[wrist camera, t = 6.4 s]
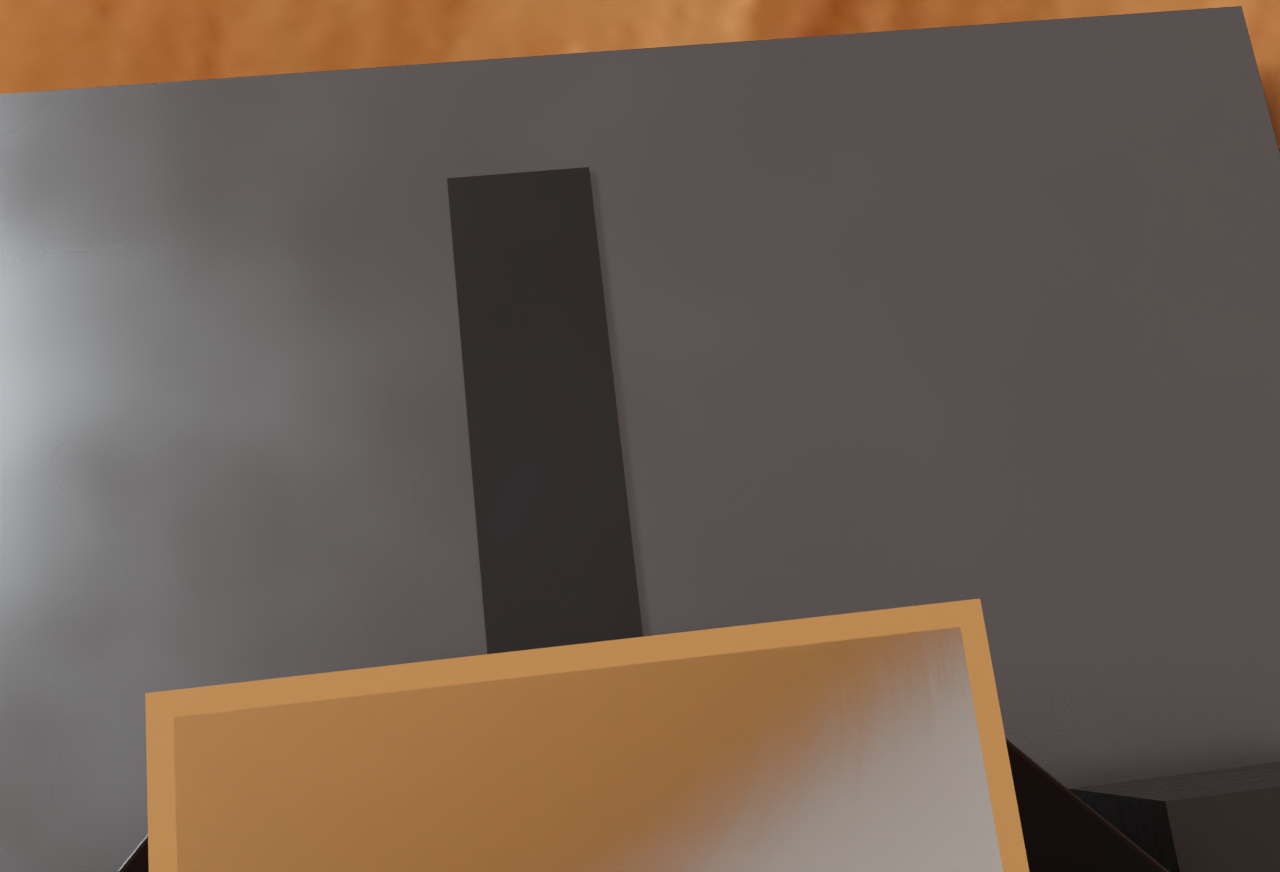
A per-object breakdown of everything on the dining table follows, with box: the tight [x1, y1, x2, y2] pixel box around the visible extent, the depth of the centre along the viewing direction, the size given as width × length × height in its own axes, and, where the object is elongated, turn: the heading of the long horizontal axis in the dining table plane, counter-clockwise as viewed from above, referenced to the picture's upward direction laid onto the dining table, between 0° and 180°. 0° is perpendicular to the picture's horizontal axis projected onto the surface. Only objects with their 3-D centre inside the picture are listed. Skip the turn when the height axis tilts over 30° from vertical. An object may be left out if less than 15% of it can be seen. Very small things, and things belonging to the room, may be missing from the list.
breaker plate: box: [0, 6, 1280, 872], centre depth 12 cm, size 15×18×4 cm
